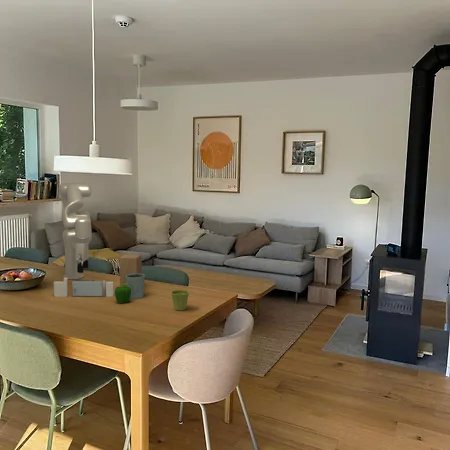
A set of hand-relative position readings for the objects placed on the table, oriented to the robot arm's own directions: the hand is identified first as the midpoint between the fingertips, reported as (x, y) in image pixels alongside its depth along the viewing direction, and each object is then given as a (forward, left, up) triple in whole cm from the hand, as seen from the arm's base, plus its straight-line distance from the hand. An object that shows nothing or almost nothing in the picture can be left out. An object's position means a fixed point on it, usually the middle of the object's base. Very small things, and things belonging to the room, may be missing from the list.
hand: (83, 270), depth 251 cm
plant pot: (+30, +57, -13) cm, 65 cm away
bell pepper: (+19, +26, -13) cm, 34 cm away
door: (+9, +5, -12) cm, 16 cm away
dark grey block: (0, 0, -13) cm, 13 cm away
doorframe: (+9, +3, -13) cm, 15 cm away
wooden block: (-5, +26, -13) cm, 29 cm away
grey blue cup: (+9, +31, -13) cm, 34 cm away
